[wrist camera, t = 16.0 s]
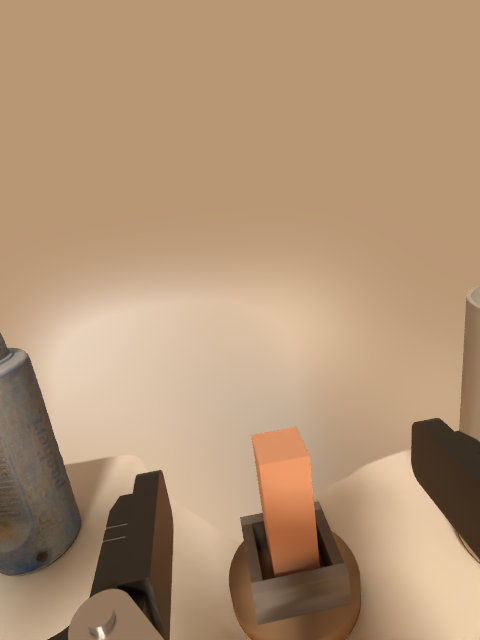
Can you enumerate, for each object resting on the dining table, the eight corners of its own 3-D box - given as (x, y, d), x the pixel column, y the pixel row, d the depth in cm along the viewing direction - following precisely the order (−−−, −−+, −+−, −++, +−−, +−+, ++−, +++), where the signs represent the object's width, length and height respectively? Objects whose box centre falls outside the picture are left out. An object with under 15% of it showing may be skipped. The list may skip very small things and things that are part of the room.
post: (277, 596, 35) (259, 465, 30) (269, 556, 39) (251, 435, 34) (321, 586, 35) (309, 455, 31) (308, 548, 39) (296, 426, 35)
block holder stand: (240, 674, 31) (230, 626, 30) (226, 546, 43) (218, 506, 41) (385, 640, 32) (383, 591, 31) (333, 524, 44) (330, 483, 42)
